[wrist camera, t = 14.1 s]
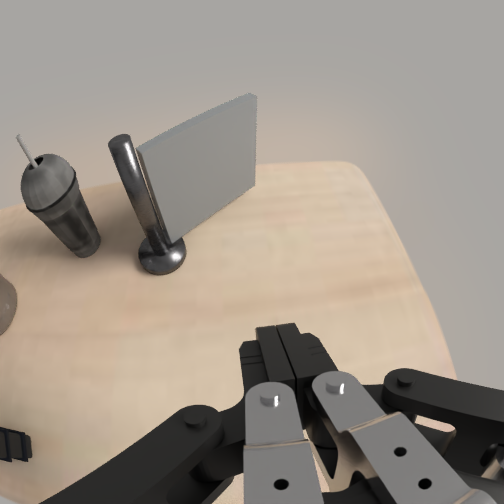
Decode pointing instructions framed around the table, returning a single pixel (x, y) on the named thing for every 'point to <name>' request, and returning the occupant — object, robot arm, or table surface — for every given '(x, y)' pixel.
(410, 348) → the table surface
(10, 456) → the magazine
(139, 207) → the hinge post
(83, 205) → the beverage cup
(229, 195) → the door
